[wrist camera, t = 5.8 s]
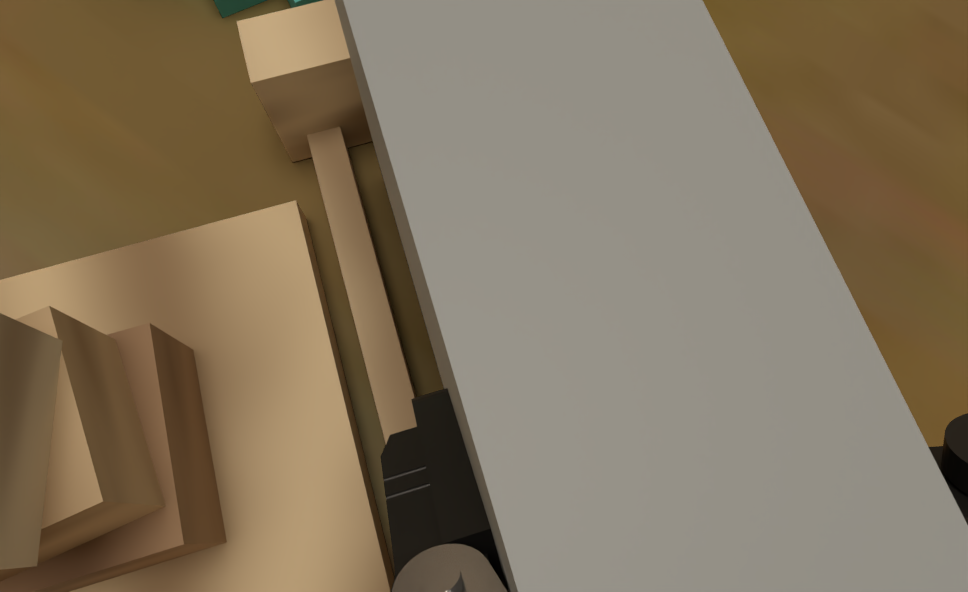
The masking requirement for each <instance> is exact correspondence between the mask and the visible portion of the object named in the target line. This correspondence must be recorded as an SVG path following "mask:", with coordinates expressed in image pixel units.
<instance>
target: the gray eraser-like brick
mask: <svg viewBox="0 0 968 592" xmlns="http://www.w3.org/2000/svg"><path fill="white" fill-rule="evenodd" d="M335 4H336V7H337V11H338V15H339V18H340V22H341V26H342V30H343V33H344V37H345V41H346V44H347V48H348V52H349V55H350V59H351V63H352V66H353V70H354V74H355V78H356V81H357V85H358V89H359V92H360V96H361V100H362V103H363V107H364V111H365V114H366V118H367V122H368V126H369V129H370V133H371V137H372V140H373V144H374V148H375V151H376V155H377V159H378V162H379V166H380V169H381V172H382V176H383V179H384V183H385V186H386V190H387V193H388V197H389V200H390V204H391V207H392V211H393V214H394V217H395V221H396V224H397V228H398V231H399V235H400V238H401V242H402V245H403V249H404V252H405V255H406V259H407V262H408V266H409V269H410V273H411V276H412V280H413V283H414V287H415V290H416V293H417V297H418V300H419V304H420V307H421V311H422V314H423V318H424V321H425V325H426V328H427V332H428V335H429V338H430V342H431V345H432V349H433V352H434V356H435V359H436V363H437V366H438V370H439V373H440V376H441V380H442V383H443V387H444V389H446V388H447V389H448V392H449V395H450V398H451V402H452V405H453V408H454V411H455V414H456V418H457V421H458V424H459V427H460V431H461V434H462V437H463V440H464V443H465V447H466V450H467V453H468V456H469V460H470V463H471V466H472V469H473V472H474V476H475V479H476V482H477V485H478V489H479V492H480V495H481V498H482V501H483V505H484V508H485V511H486V514H487V518H488V521H489V524H490V527H491V531H492V534H493V538H494V542H495V545H496V549H497V553H498V556H499V560H500V564H501V567H502V571H503V575H504V578H505V582H506V585H507V589H508V592H968V525H967V523H966V521H965V519H964V517H963V515H962V513H961V511H960V509H959V507H958V505H957V503H956V501H955V499H954V497H953V495H952V493H951V491H950V489H949V487H948V485H947V483H946V481H945V479H944V477H943V475H942V473H941V471H940V469H939V467H938V465H937V463H936V461H935V459H934V457H933V455H932V453H931V451H930V449H929V448H928V446H927V444H926V442H925V440H924V438H923V436H922V434H921V432H920V430H919V428H918V426H917V424H916V422H915V420H914V418H913V416H912V414H911V412H910V410H909V408H908V406H907V404H906V402H905V400H904V398H903V396H902V394H901V392H900V390H899V388H898V386H897V384H896V382H895V380H894V378H893V376H892V374H891V372H890V370H889V368H888V366H887V364H886V362H885V361H884V359H883V357H882V355H881V353H880V351H879V349H878V347H877V345H876V343H875V341H874V339H873V337H872V335H871V333H870V331H869V329H868V327H867V325H866V323H865V321H864V319H863V317H862V315H861V313H860V311H859V309H858V307H857V305H856V303H855V301H854V299H853V297H852V295H851V293H850V291H849V289H848V287H847V285H846V283H845V281H844V279H843V277H842V275H841V273H840V272H839V270H838V268H837V266H836V264H835V262H834V260H833V258H832V256H831V254H830V252H829V250H828V248H827V246H826V244H825V242H824V240H823V238H822V236H821V234H820V232H819V230H818V228H817V226H816V224H815V222H814V220H813V218H812V216H811V214H810V212H809V210H808V208H807V206H806V204H805V202H804V200H803V198H802V196H801V194H800V192H799V190H798V188H797V186H796V185H795V183H794V181H793V179H792V177H791V175H790V173H789V171H788V169H787V167H786V165H785V163H784V161H783V159H782V157H781V155H780V153H779V151H778V149H777V147H776V145H775V143H774V141H773V139H772V137H771V135H770V133H769V131H768V129H767V127H766V125H765V123H764V121H763V119H762V117H761V115H760V113H759V111H758V109H757V107H756V105H755V103H754V101H753V99H752V98H751V96H750V94H749V92H748V90H747V88H746V86H745V84H744V82H743V80H742V78H741V76H740V74H739V72H738V70H737V68H736V66H735V64H734V62H733V60H732V58H731V56H730V54H729V52H728V50H727V48H726V46H725V44H724V42H723V40H722V38H721V36H720V34H719V32H718V30H717V28H716V26H715V24H714V22H713V20H712V18H711V16H710V14H709V12H708V11H707V9H706V7H705V5H704V3H703V1H702V0H335Z"/></svg>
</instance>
